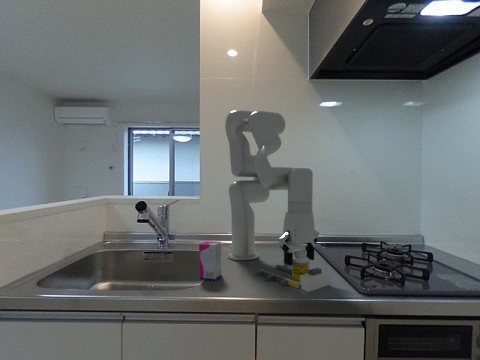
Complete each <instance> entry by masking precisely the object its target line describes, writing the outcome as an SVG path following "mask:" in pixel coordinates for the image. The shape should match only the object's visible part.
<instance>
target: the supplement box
mask: <svg viewBox="0 0 480 360" xmlns="http://www.w3.org/2000/svg"><path fill="white" fill-rule="evenodd" d="M198 253H199V254H198V258H199V259H198V261H199V262H198V263H199V270H198V271H199V272H198V273H199V277H198V278H199V280H201V281H202V280H204V281H213V282H214V281H215V282H216V281H217V280H218V279H219V278H221V276H222V242H221V241H212V240H211V241H210V240H209V241H207V240H206V241H204V242H202V243H199V244H198Z"/></svg>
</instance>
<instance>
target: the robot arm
mask: <svg viewBox="0 0 480 360" xmlns="http://www.w3.org/2000/svg"><path fill="white" fill-rule="evenodd" d="M224 127H225V135H226V137H227V141H228V145H229V157H230V159H229V161H230V171H231V173H232V174H231V175H233V176H234V177H237V178H253V180H251V179H249V180H247V179H244V180H242V179H241V180H235V181H233V182H232V183H231V184H230V185H229V187H228V196H229V197H228V198H229V200H230V201H229V202H230V210H231V211H230V213H231V245H228V249H230V252H229V253H228V256H227V257H228V259H231V260H234V261H251V260H252V261H253V260H256V259H258V258H259V257H260V255H259V253H258V252H257V251H256V245H255V244H256V243H255V242H256V241H255V240H256V237H255V236H256V235H255V233H256V232H255V231H256V230H255V227H256V225H255V223H256V222H255V212H254V209H253V208H252V206H251V205H250V204H255V203H256V204H257V203H265V202H266V201H267V200H268V199H269V196H270V194H271V193H270V192H271V191H287V212H285V216H284V220H283V227H282V228H283V231H282V235H281V236H280V237H279V238H278V239H277V241H278V244H279V247H280V249H281V250H282V252H283V265H285V264H287V265H288V266H289V267H292V265H293V257H294V252H292V251H293V250H294V247H296V246H301V245H305V247H304V248H305V249H304V250H306V251H307V256H306V257H308V258H309V261H315V248H316V246H317V243H318V239H319V236H320V232H319V231H317V230H316V229H315V219H314V212H313V205H314V204H313V190H314V189H313V184H314V183H313V179H314V178H313V177H314V175H313V174H314V172H313V170H312V169H311V168H309V167H308V168H307V167H306V168H305V167H282V166H278V167H277V166H273V167H272V165H271V163H270V161H269V159H268V156H270V155H273V154H274V153H276V152H277V151H278V150H279V149H280V148H281V147H282V140H281V137H280V135H281V134H282V133H283V132H284V131H285V129H286V120H285V118H284V116H283V115H282V114H280V113H279V112H274V111H265V110H257V111H251V110H243V109H240V110H239V109H236V110H232V111H230V112H229V113H228V114H227V115H226V119H225V126H224ZM243 132H245V133H251V134H252V137H253V139H254V141H255V143H256V146H257V149H258V151H257V152H256V154H252V153H251V146H250V142H249V140H248V138H247V137H246V136H245V134H244V133H243Z"/></svg>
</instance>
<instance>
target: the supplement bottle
mask: <svg viewBox="0 0 480 360" xmlns="http://www.w3.org/2000/svg"><path fill="white" fill-rule="evenodd" d="M306 256H307V251H306V250H305V249H303V248H302V249H301V248H299V249H293V265H292V266H291V269H292V273H291V280H293V281H296V282H299V283H300V275H304V274H307V273H308V270H310V259H309V258H308V257H306Z"/></svg>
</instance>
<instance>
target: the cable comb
mask: <svg viewBox="0 0 480 360" xmlns="http://www.w3.org/2000/svg"><path fill="white" fill-rule="evenodd" d="M288 266H289V265H287V264H281V265H280V264H276V265H275V268H276V269H277V270H280V271H282V272H286V273H288V274H292V267H291V268H290V267H288ZM255 276H257V277H258V276H265V277H267V278H266V279H267V281H273V280H275V281H278V282H280V285H279V286H281V287H284V286H286V285H288V286H291V287H294V288H296V289H299V290H301V291H304V292H307V293H310V292H313V291H316V290H319V289H322V288H324V287H327V286H330V271H327V270H324V269H322V268H320V267H315V268H311V269H309V270H308V273H307V274H304V275H300V283H299V282H296V281H293V280H292V278H291V279H290V278H288V277H287V278H286V277H284V276H281V275H278V274H275V273H273V272H270V271H267V270H265V269H262V268H258V269H257V271H255Z"/></svg>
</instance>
